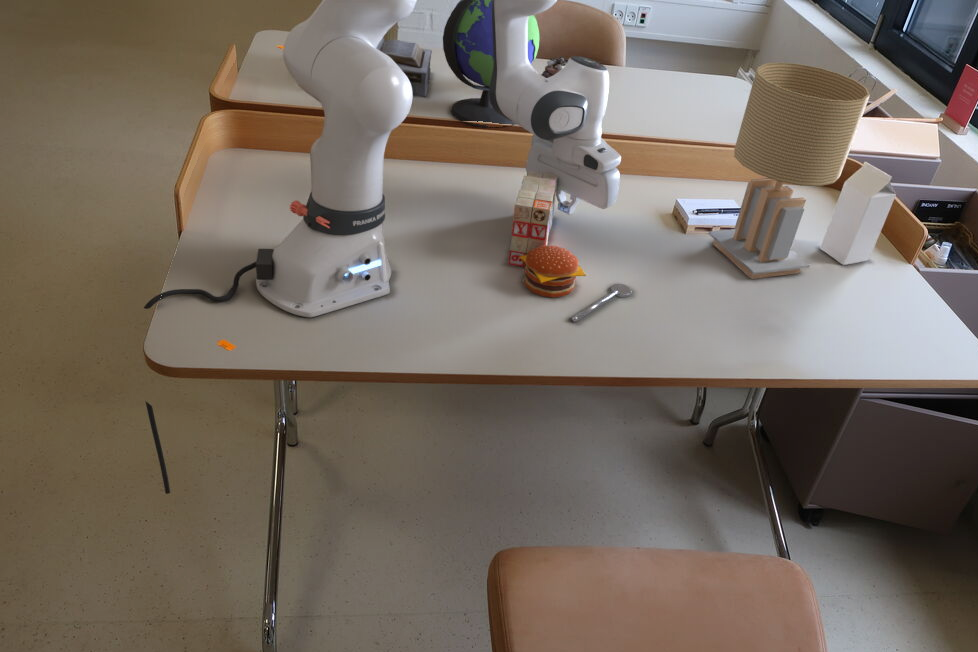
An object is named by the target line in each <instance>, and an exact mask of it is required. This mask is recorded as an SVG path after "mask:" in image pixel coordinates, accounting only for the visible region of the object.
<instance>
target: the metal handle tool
mask: <svg viewBox="0 0 978 652" xmlns="http://www.w3.org/2000/svg"><path fill="white" fill-rule="evenodd" d="M631 294H632V288H631V287H630V286H628V285H626V284H623V283H615V284H613V285H611V287H610V293H608V294H606V295H605V296H603V297H601V298H600V299H598V300H597V301H595V302H593V303H592V304H590V305H589V306H587V307H586V308H584V309H582V310H580V311H578V313H576V314H574V315H573V316H572V317H571V321H572V322H573V323H576V322H578V321H579V320H581V319H582V318H584V317H586V316H587V315H589V314H590V313H592V312H593V311H595V310H597V309H598V308H600V307H601V306H603V305H604V304H606V303H607V302H609V301H611V300H612V299H614V298H615V297H619V298H628V297H630V296H631Z"/></svg>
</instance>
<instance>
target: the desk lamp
mask: <svg viewBox="0 0 978 652" xmlns="http://www.w3.org/2000/svg"><path fill="white" fill-rule="evenodd" d="M751 85H752V86H751V89H750V91H749V95H748V99H747V103H746V106H745V110H744V114H743V116H742V121H741V124H740V127H739V131H738V135H737V138H736V142H735V146H734V149H733V151H734V158H735V159H736V160H737V161H738V162H739V163H740V164H741V166H743V167H745V168H747V169H748V170H750V171H751V172H753V173H755V174H757V175H759V176H762V177H759V178H749V179H750V180H749V181H748V183H747V186H746V189H745V193H744V196H743V199H742V202H741V205H740V209H739V212H738V216H737V219H736V223H735V225H734V228H731V229H721V230H719V229H718V230H711V231H708V233H707V234H708V235H709V236H710V237H711V238H712V239H713V240H714V241H713V246H714V247H715V248H717V249H718V250H719V251H720V252H721V253H722V254H723V255H724V256H725V257H726V258H728V259H729V260H730V261H731V262H732V263H733V264H734V265H735V266H736V267H738V268H739V269H740V270H741V271H742V272H743V273H744V274H745V275H746V276H747V277H748V278H750V280H754V279H762V278H770V277H778V276H787V275H795V274H800V271H801V269H807V268H809V269H810V268H811V266H812V265H811V264H810V263H809V262H807V261H806V260H805V259H804V258H803V257H801V256H800V255H799V254H797V252H795V251H794V250H792V249H791V248H792V246H793V243H794V240H795V237H796V235H797V232H798V229H799V227H800V226H799V225H800V223H801V221H802V217H803V214H804V212H805V208H804V207H805V204H806V201H807V199H806V198H805V197H792V196H793V193H794V189H792V188H791V187H790V186H788V185H784V183H785V184H790V185H796V186H801V187H802V186H803V187H823V186H827V185H833V184H834V183H836V182H837V181H838V180H839V179H840V177H841V175H842V172H843V169H844V167H845V164H846V161H847V159H848V157H849V153H850V151H851V148H852V145H853V143H854V140H855V138H856V135H857V131H858V129H859V126H860V123H861V121H862V118H863V115H864V113H865V110H866V107H867V105H868V102H869V99H870V96H871V94H870V92H869V89H868V88H867V87H866V86H865V85H863V84H862V83H861V82H859V81H858V80H855V79H854V78H850V77H848V76H846V75H844V74H842V73H840V72H836V71H833V70H829V69H825V68H822V67H817V66H812V65H807V64H801V63H792V62H781V61H780V62H767V63H763V64H762V65H760V66H758V67H757V68H756V71H755V75H754V78H753V82H752V84H751Z"/></svg>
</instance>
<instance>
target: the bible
mask: <svg viewBox="0 0 978 652" xmlns="http://www.w3.org/2000/svg"><path fill="white" fill-rule="evenodd" d="M376 49H378V50H379V51H381V52H383V53H384V54H386V55H388V56H389V57H390V58H391V59H392V60H393V61H394V62H395V63H396V64H397V65H398V66H399V67H400V69H401V70H402V71H403V72H404V74H405V75H406V76H407V77H408V79H409V81H410V83H411V86H412V92H413V97H414V96H415V97H416V96H417V97H422V98H426V96H427V92H428V88H429V84H430V80H431V60H432V53H433V51H432V49H427V48H422V47H421V46H420V45H419V44H418V42H413V41H405V40H400V39H389V40H386V39H385V37H383V38H382V39H381V41H380V42H379V44H378V46H377V48H376Z"/></svg>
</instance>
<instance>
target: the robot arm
mask: <svg viewBox="0 0 978 652" xmlns="http://www.w3.org/2000/svg"><path fill="white" fill-rule="evenodd" d="M417 1H418V0H321V2H320V3H319V5H318V6H317V7H316V8H315V10H314V11H313V12H312V14H311V15H310V16H309V17H308V18H307V19H306V20H304V21H302V22H299V23H298V24H297V25H295V26H293V28H292V29H291V30H290V31H289V32H288V34H287V36H286V37H285V40H284V43H283V49H282V57H283V62H284V65H285V67H286V69H287V71H288V72H289V74H290V76H291V77H292V79H293V80H294V81H295V83H296V84H297V86H298V87H299V88H300V89H301V90H302V91H304V92H305V93H306V94H308V95H309V96H310V97H311V98H313V99H315V100H316V101H317V102H319V103H320V105H321V108H322V109H323V113H324V121H323V127H322V131H321V135H320V137H318V138H317V139H316V140H315V141H314V142H313V143H312V145H311V147H310V150H309V151H310V152H309V159H310V161H309V163H310V183H311V184H310V187H311V191H310V192H309V195H308V199H307V201H306V204H304V203H301V202H300V201H299V200H293V201H292V202H291V204H290V205H289V211H290V212H291V213H292V214H295V215H297V216H298V217H302V220H301V221H299V223H298V224H297V225H296V226H295V227H294V228H293V229H292V230H291V232H289V234H287V236H285V238H284V239H283V240H282V241H281V242H280V243H279V244H278V245H277V246H276V247H275V248H258V249H257V254H256V261H254V262H252V263H250V264H248V265H245V266H244V267H242V268H240V269H239V270H237V272H236V273H235V275H234V278H233V283H232V285H231V287H230V289H229V290H228V292H227V293H226V294H225V295H221V296H216V295H213V294H211V293H210V292H209V291H206V290H204V289H200V288H179V289H172V290H171V289H170V290H167V291H163V292H161V293H159V294H157V295H155V296H153V298H151V299H150V300H149V301H147V303H146V304H145V305H144V306H143V309H145V310H147V309H148V310H149V309H151V308H152V307H153V306H154V305H156V303H158V302H159V301H161V300H163V299H166V298H167V297H171V296H177V295H179V296H180V295H200V296H203V297H205V298H206V299H207V300H210V301H212V302H217V303H221V302H226V301H228V300H230V299H231V298H232V297H233V296H234V295H235V293H236V292H237V290H238V287H239V284H240V279H241V277H242V276H243V275H244V274H245V273H247V272H249V271H251V270H253V269H255V272H256V279H255V286H256V289H257V291H258V292H259V294H260V295H261V296H262V297H263V298H265V300H267V301H268V302H270V303H271V304H273V305H274V306H276V307H277V308H279V309H281V310H283V311H285V312H287V313H289V314H292V315H294V316H299V317H304V318H314V317H318V316H321V315H324V314H328V313H331V312H335V311H338V310H341V309H344V308H348V307H351V306H354V305H357V304H360V303H365V302H367V301H370V300H373V299H377V298H380V297H383V296H386V295H388V294H390V292H391V289H390V283H389V281H390V279H391V276H392V269H391V265H390V263H389V259H388V254H387V248H386V242H385V234H384V233H385V232H384V221H385V219H386V211H387V210H386V196H385V195H384V193H383V192H384V189H383V188H384V187H383V186H384V160H385V159H384V158H385V151H386V148H387V144H388V140H389V137H390V134H391V133H392V131H394V130H395V129H396V128H398V127H399V126H400V125H401V124H402V123H403V122H404V121H405V119H407V117H408V115H409V113H410V110H411V108H412V104H413V99H414V95H413V92H412V86H411V83H410V81H409V79H408V77H407V76H406V75H405V74H404V72H403V71H402V70H401V69H400V67H399V66H398V65H397V64H396V63H395V62H394V61H393V60H392V59H391V58H390V57H389V56H388V55H386V54H384V53H383V52H381V51H379V50H378V49H376V48H377V46H378V44H379V42H380V41H381V39H382V38H385V35H386V34H387V33H388V32H389V30H390V29H391V28H392V27H393V26H395V24H397V23H399V22H401V21H404V20H405V19H407V18H408V17H410V15H411V14H412V13H413V11H414V10H415V7H416V4H417ZM557 2H558V0H492V31H493V58H494V62H493V72H492V77H491V82H490V88H489V98H490V102H491V105H492V107H493V109H494V110H495V111H496V112H497V113H498V114H499V115H501V116H503V117H505V118H507V119H509V120H511V121H513V122H515V123H516V124H515V125H517V126H519V127H521V128H522V129H524V130H525V131H526V132H529V133H530V134H532V136H531V141H530V143H531V144H530V149H529V152H528V156H527V158H526V165H525V171H526V173H527V172H528V171H530V172H537V173H542V174H543V173H544V174H550V175H554V176H556V177H558V179H557V189H556V190H557V192H556V200H557V202H558V203H557V210H558V211H561V212H563V213H565V214H567V215H573V214H574V213H575V211H576V210H575V209H576V206H577V205H578V203H579V202H581V201H584V202H586V203H588V204H590V205H592V206H594V207H597V208H599V209H601V210H605V209H608V208H610V207H612V206H613V205H615V204H616V202H617V200H618V196H619V191H620V189H619V188H620V179H621V178H620V176H621V175H620V171H619V169H618V168H617V167H618V166H620V165H621V162H622V155H621V154H620V153H619V152H617V150H615V149H614V148H613V147H612V146H611V145H610V144H608V142H607V141H605V139H603V138H602V134H603V127H602V123H603V119H604V117H605V115H606V111H607V107H608V101H609V100H608V99H609V92H610V91H609V90H610V73H609V70H608V69H607V67H606V66H605V65H604V64H602V63H600V62H599V61H596V60H594V59H590V58H589V57H585V56H580V55H574V56H570V57H569V58H568V59H567V61H568V62H567V64H566V65H565V67H563V68H562V69H561V70H560V71H559V72H558V73H556V74H555V75H553V76H551V77H549V78H545V77H544V76H542V75H541V74H540V73H539V72H537V70H536V69H535V68H534V67H533V66H532V65H533V64H532V63H531V64H530V62H529V60H528V18H529V16H532V15H535V16H536V15H537V14H541V13H543V12H545V11H547V10H549V9H550V8H552V7H553V6H554V5H555V4H556V3H557ZM566 194H568V195H570V196H569V199H570V200H571V201H568V200H567V197H566ZM161 295H162V296H161ZM160 298H161V299H160ZM145 406H146V410H147V416H148V419H149V424H150V428H151V433H152V437H153V441H154V445H155V449H156V453H157V458H158V462H159V467H160V472H161V478H162V482H163V488H164V493H165V494H167V495H168V494H171V488H170V487H171V486H170V482H169V477H168V472H167V467H166V462H165V457H164V453H163V448H162V444H161V439H160V435H159V430H158V427H157V423H156V418H155V413H154V408H153V405H151V404H150V403H149V402H148V401H145Z"/></svg>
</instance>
